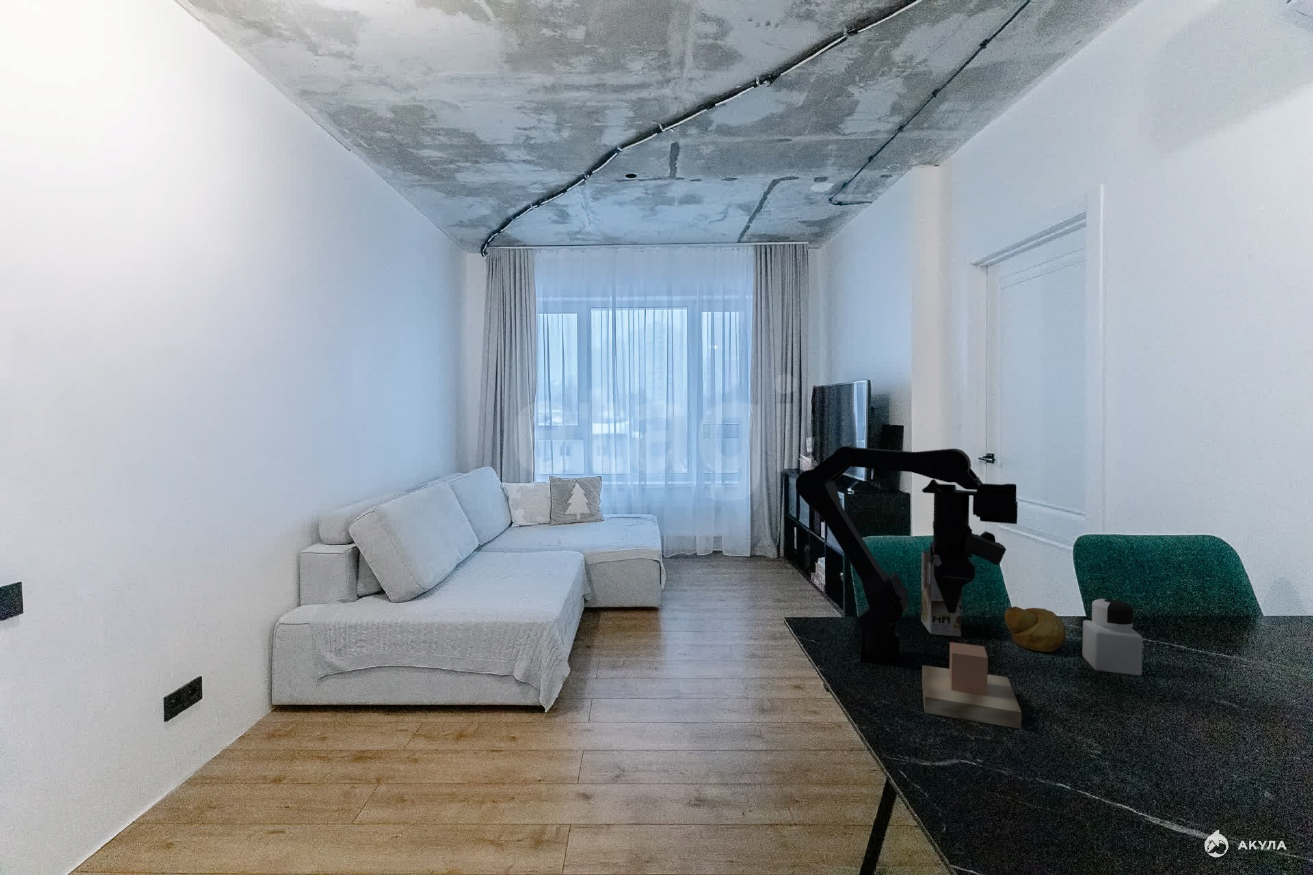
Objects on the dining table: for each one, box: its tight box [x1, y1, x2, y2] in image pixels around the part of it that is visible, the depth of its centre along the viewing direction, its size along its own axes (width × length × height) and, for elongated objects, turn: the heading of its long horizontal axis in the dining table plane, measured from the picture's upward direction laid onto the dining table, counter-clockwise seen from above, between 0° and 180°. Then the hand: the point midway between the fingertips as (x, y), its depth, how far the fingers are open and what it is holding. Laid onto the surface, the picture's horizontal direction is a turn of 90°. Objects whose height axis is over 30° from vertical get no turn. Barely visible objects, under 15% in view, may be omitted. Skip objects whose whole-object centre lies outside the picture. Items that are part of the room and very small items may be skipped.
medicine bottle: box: [1081, 598, 1144, 676], centre depth 112 cm, size 7×7×12 cm
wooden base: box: [921, 664, 1022, 730], centre depth 98 cm, size 13×13×2 cm
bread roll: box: [1004, 606, 1067, 653], centre depth 123 cm, size 13×10×8 cm
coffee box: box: [920, 550, 963, 637], centre depth 132 cm, size 9×6×16 cm
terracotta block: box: [948, 641, 989, 696], centre depth 98 cm, size 5×5×6 cm
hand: (949, 605), depth 109 cm, fingers open, 9 cm apart
